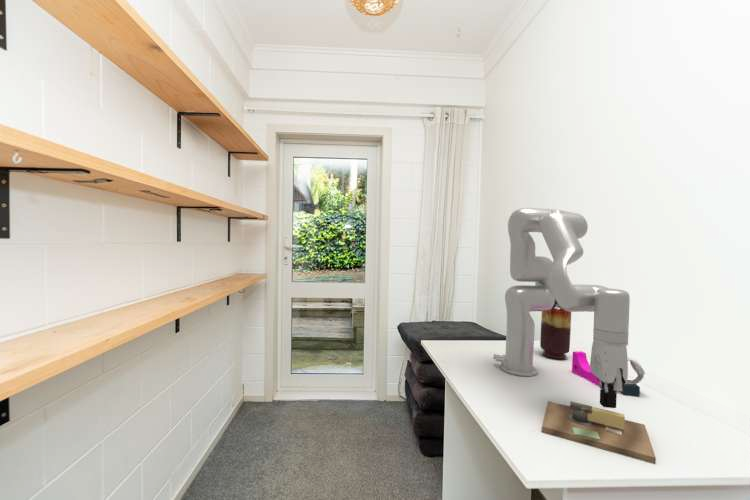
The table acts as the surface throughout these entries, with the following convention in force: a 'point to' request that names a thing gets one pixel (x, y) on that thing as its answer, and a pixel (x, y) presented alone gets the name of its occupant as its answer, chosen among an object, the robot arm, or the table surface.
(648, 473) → the table surface
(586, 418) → the lever handle
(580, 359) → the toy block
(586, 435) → the wooden lever switch board
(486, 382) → the table surface
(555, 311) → the vase
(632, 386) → the watch
